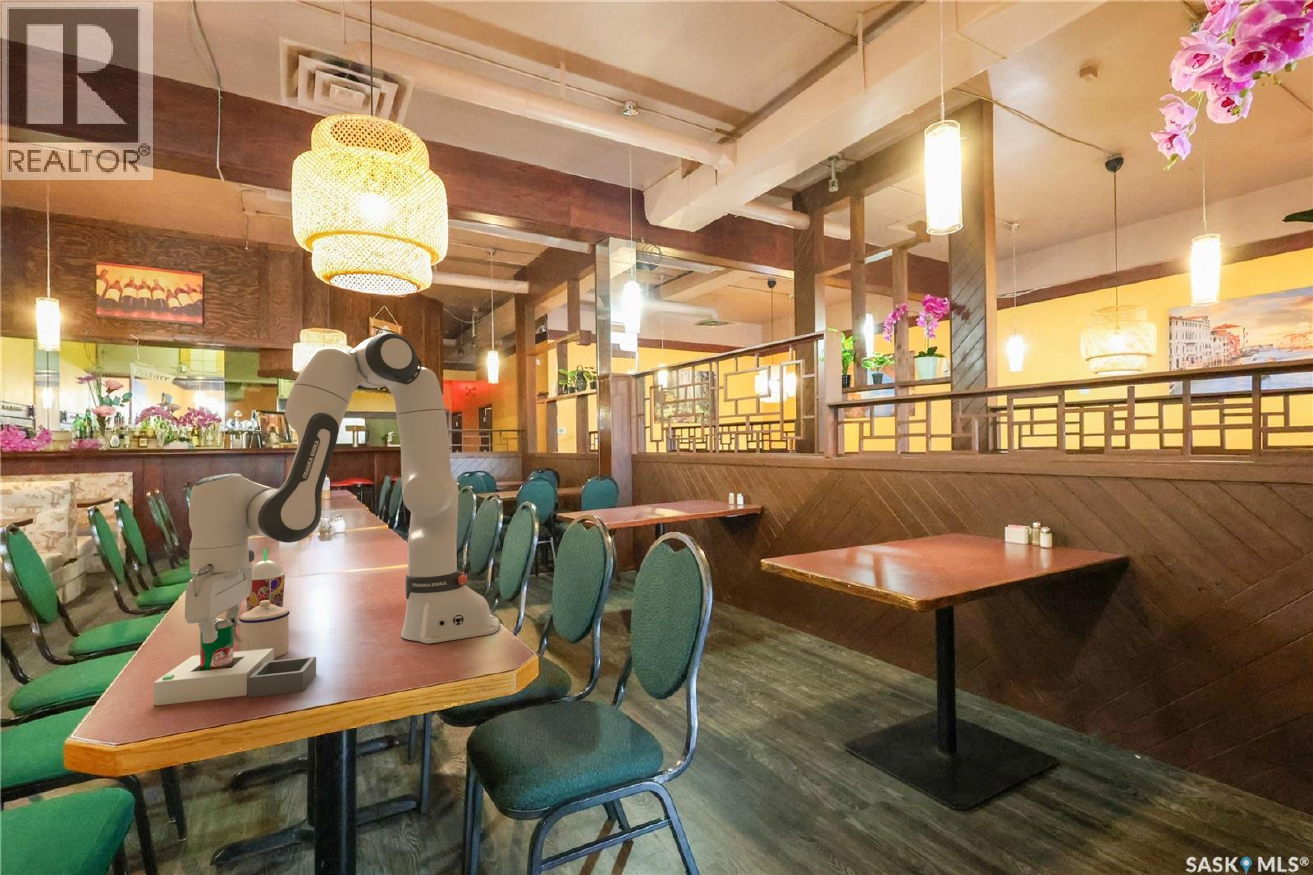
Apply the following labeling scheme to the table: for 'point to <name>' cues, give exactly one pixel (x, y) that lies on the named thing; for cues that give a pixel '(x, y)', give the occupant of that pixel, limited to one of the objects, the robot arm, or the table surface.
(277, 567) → the smoothie
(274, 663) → the grey square tray
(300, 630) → the table surface
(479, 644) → the table surface
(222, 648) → the soda can
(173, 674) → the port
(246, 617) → the teacup with lid
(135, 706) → the table surface
